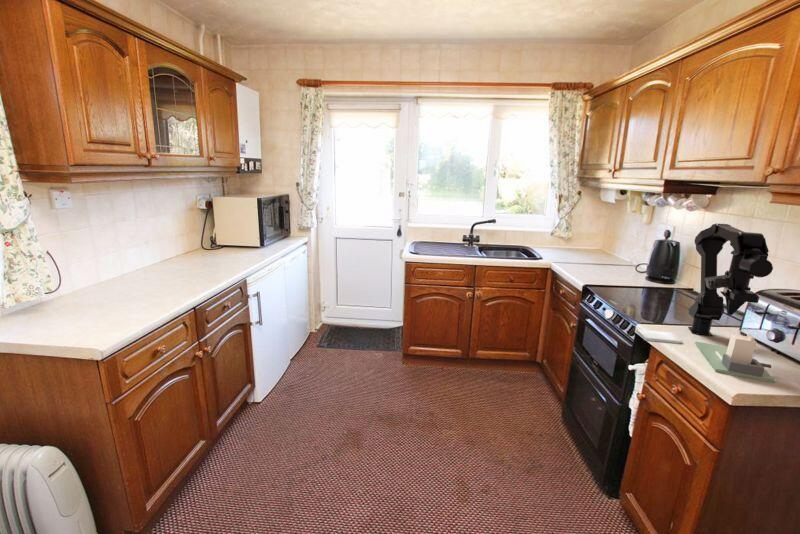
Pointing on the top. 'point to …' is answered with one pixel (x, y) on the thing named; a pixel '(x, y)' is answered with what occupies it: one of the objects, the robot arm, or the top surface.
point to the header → (743, 366)
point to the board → (715, 358)
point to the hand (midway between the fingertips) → (729, 314)
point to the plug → (742, 349)
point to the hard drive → (658, 336)
